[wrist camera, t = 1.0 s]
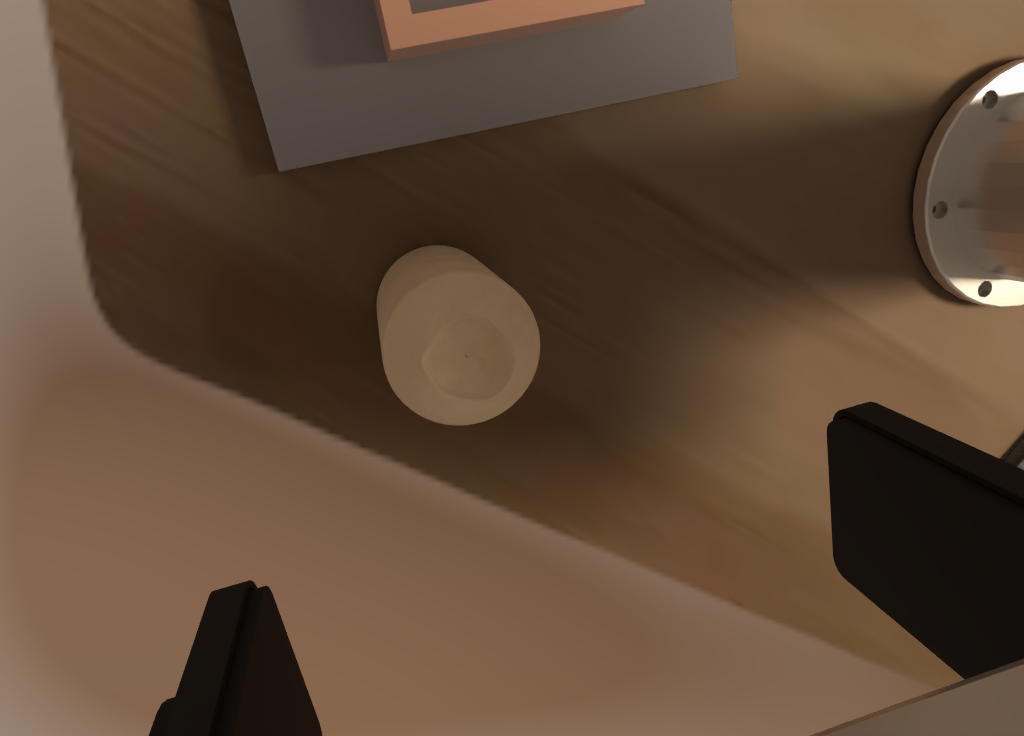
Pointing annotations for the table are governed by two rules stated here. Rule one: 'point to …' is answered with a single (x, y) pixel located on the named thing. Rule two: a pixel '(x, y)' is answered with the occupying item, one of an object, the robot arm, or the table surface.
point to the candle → (454, 336)
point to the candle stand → (463, 65)
